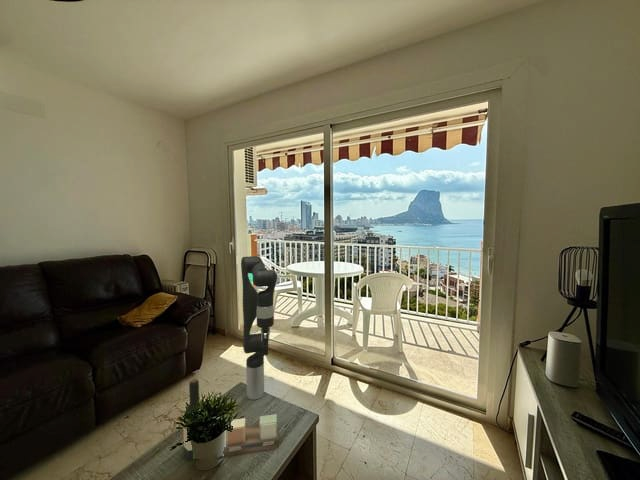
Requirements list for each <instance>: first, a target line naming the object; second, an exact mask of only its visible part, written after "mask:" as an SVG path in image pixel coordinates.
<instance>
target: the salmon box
mask: <svg viewBox="0 0 640 480" xmlns="http://www.w3.org/2000/svg"><path fill="white" fill-rule="evenodd" d="M232 420H233V421H232V422H231V425H232V426H233V431H232V432H230V431H226V433H227V446H233V445H239V444H245V438H246V426H247V425H246V417H244V418H236V419H232Z"/></svg>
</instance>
